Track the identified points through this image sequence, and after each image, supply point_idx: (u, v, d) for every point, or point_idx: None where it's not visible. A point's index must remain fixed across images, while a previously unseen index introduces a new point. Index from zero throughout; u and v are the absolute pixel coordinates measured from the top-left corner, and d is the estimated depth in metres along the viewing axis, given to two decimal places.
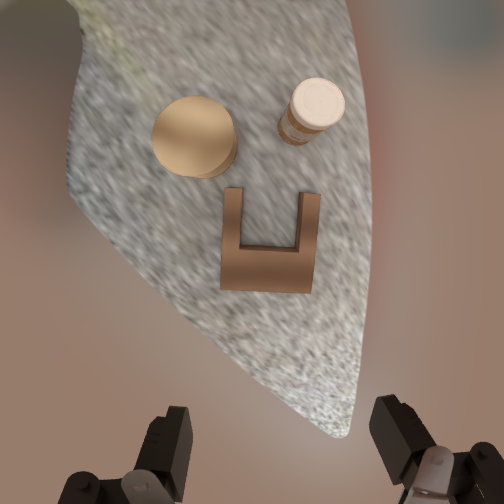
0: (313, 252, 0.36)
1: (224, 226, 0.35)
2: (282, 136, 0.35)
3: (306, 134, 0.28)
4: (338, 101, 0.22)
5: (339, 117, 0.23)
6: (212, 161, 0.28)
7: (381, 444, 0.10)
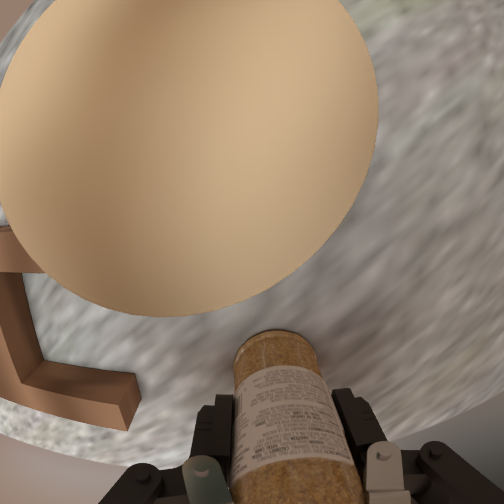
0: (32, 405, 0.13)
1: (10, 235, 0.11)
2: (250, 345, 0.15)
3: None
4: None
5: None
6: (36, 221, 0.05)
7: None
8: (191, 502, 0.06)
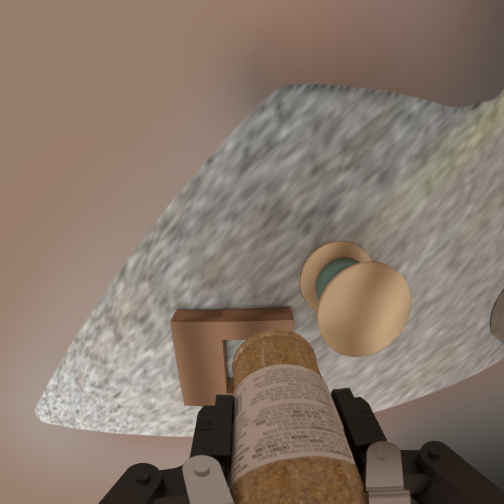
0: None
1: (247, 323, 0.29)
2: (248, 345, 0.14)
3: (230, 490, 0.08)
4: None
5: None
6: (335, 340, 0.23)
7: None
8: (191, 502, 0.06)
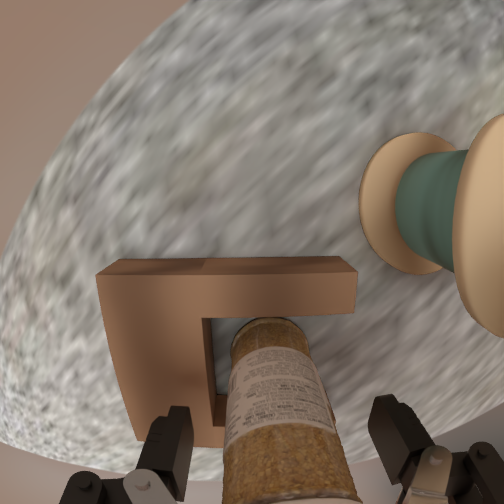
0: (217, 445, 0.15)
1: (258, 279, 0.13)
2: (245, 331, 0.16)
3: None
4: None
5: None
6: (490, 295, 0.07)
7: (380, 444, 0.10)
8: None
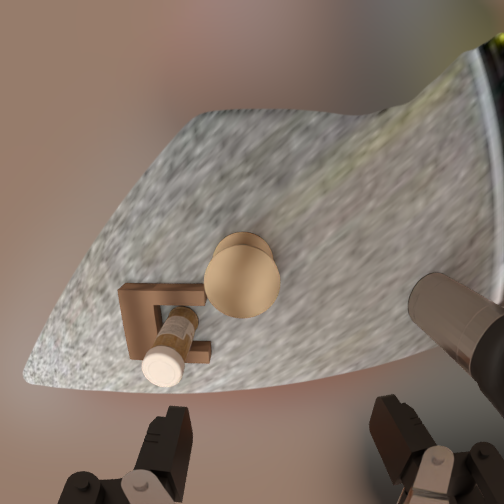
0: None
1: (170, 292, 0.38)
2: (171, 311, 0.41)
3: None
4: (164, 383, 0.30)
5: (153, 383, 0.30)
6: (218, 302, 0.32)
7: (381, 444, 0.10)
8: None
